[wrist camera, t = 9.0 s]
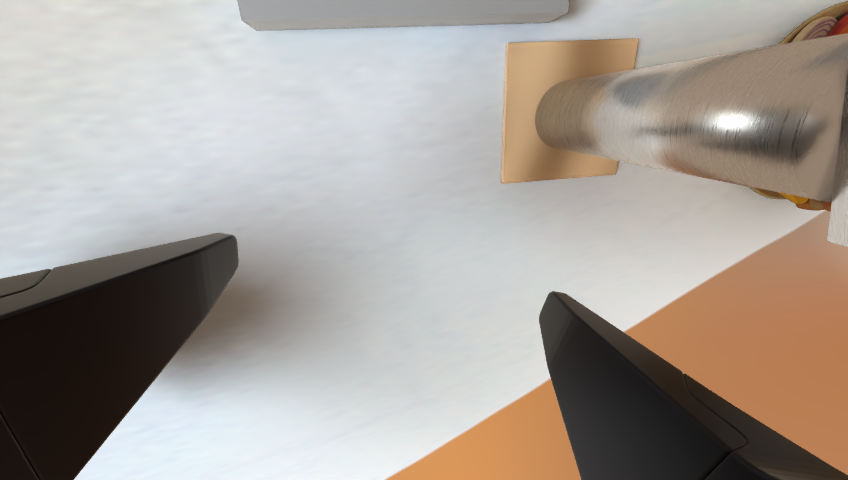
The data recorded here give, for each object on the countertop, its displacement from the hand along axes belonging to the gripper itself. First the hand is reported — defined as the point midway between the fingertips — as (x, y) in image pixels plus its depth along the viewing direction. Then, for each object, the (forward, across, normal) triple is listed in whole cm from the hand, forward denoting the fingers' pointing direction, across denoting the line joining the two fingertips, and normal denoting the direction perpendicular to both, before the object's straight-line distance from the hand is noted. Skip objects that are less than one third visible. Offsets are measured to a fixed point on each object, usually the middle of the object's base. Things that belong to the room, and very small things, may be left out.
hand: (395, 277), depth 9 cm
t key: (+14, -8, -5) cm, 17 cm away
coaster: (+14, -9, -5) cm, 17 cm away
